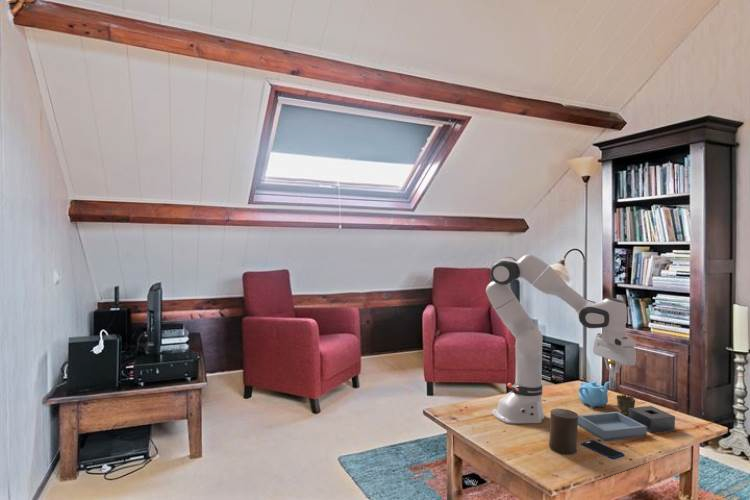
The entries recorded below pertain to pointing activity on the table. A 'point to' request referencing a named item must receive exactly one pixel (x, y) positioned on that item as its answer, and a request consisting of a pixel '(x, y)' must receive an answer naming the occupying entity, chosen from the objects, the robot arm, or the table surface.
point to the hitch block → (653, 419)
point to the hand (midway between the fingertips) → (612, 370)
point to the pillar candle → (563, 431)
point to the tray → (612, 426)
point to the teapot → (593, 394)
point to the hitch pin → (612, 375)
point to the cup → (625, 403)
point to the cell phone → (603, 449)
